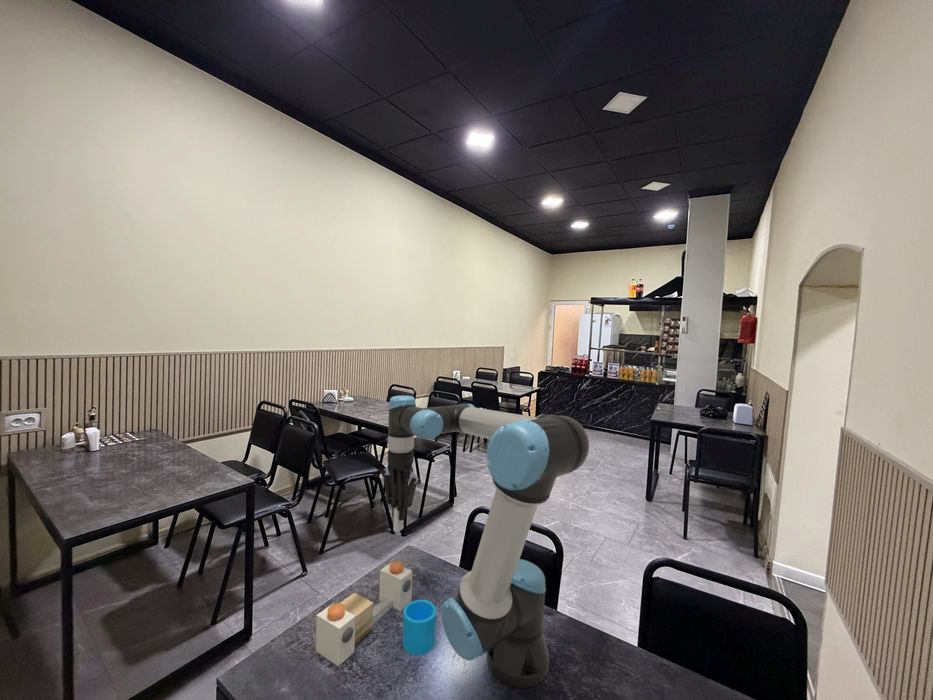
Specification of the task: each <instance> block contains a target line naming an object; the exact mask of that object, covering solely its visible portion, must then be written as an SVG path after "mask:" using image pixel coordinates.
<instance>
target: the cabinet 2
mask: <svg viewBox="0 0 933 700" xmlns="http://www.w3.org/2000/svg"><path fill="white" fill-rule="evenodd" d="M392 562H393V561H391V562H390V563H388V564H387V565H386V566H384V567H382V569H380V571H379V592H378V593H379V594H378V595H379V596H378V598H379V599H378V601H379V602H381V601H383V600H384V599H385V598H386V597H387V598H389V599H391V600H393V607H392V608H393V609H395V610H396V611H399V612H401V611H402V610H404V609H405V607H406V606H407V605H408V604H409V603H411V602H412V594H413V593H412V591H413V570H411V569H410V568H409V569H408V568H407V567H404V566H403V571H402V572H400V573H398V574H397V573H392V572H390V564H391V563H392Z"/></svg>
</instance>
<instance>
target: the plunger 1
mask: <svg viewBox="0 0 933 700" xmlns="http://www.w3.org/2000/svg"><path fill="white" fill-rule="evenodd" d="M332 604H333V603H332ZM332 604H330V605H331V606H330V605H329V606H330V607H329V606H328V607H329V608H328V615H327V616H328V618H329V619H332V620H337V619H339V618H341V617H342V616H343V615H344V614H345V606H344V605H343V604H341V603H340V602H339V603H334V604H333V605H332Z"/></svg>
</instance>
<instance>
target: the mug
mask: <svg viewBox="0 0 933 700" xmlns="http://www.w3.org/2000/svg"><path fill="white" fill-rule="evenodd" d="M436 618H437V608H436V606H435V605H434V604H433V602H431V601H429V600H428V599H425V600H424V599H418V600H413V601H411V602H410V603H409V604H408V605H406V606H405V607H404V608H403V619H402V621H403V624H402V625H403V626H402V647H403V649H404V651H405V652H406V653H408V654H409V655H414V656H422V655H425V654H427V653H429V652H430V651H431V650H432V649H433V648H434V646H435V643H436V623H437V621H436Z"/></svg>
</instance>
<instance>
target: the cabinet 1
mask: <svg viewBox="0 0 933 700" xmlns="http://www.w3.org/2000/svg"><path fill="white" fill-rule="evenodd" d="M333 604H335V603H331V604H330V605H329V606H327V607H326V608H324V609H323V610H322V611H320V612H318V613H317V614H316V627H315V652H316V653H317V654H319V655H320V656H322V657H323V658H324V659H326V660H328V661H329V662H331V663H332V664H333V665H335V666H336V667H340V666H341V664H342V663H344V662H345V661H346V660H347V659H348V658H349V657H351V656H352V655H353V654H355V646H356V644H355V618H356V616H355V615H353V614H351V613H349V612H348V611H346V610H345V614H344V615H343V616H342V617H341V618H339V619H337V620H332V619H329V618H328V616H327V615H328V608H329V607H330V606H331V605H333Z"/></svg>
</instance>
